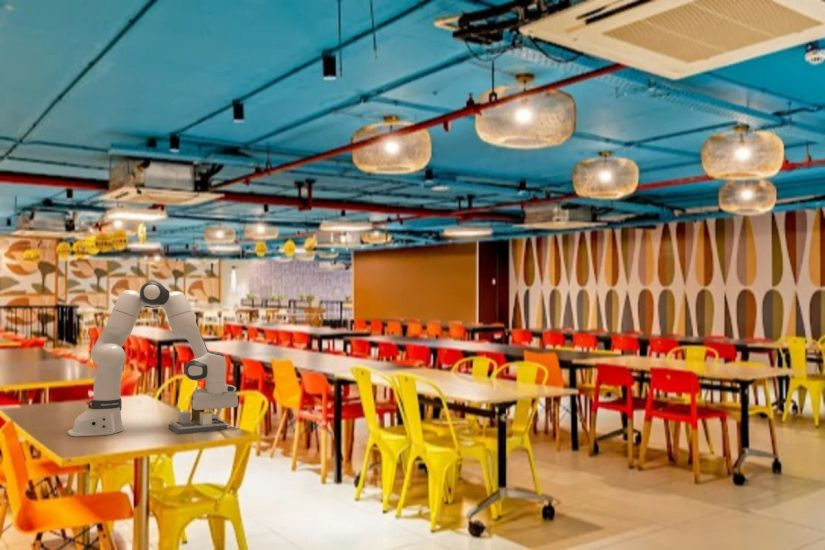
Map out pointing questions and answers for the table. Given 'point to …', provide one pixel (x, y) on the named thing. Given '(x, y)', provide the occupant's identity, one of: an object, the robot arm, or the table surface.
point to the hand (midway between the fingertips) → (214, 418)
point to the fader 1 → (184, 417)
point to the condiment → (196, 414)
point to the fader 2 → (205, 418)
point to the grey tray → (197, 426)
